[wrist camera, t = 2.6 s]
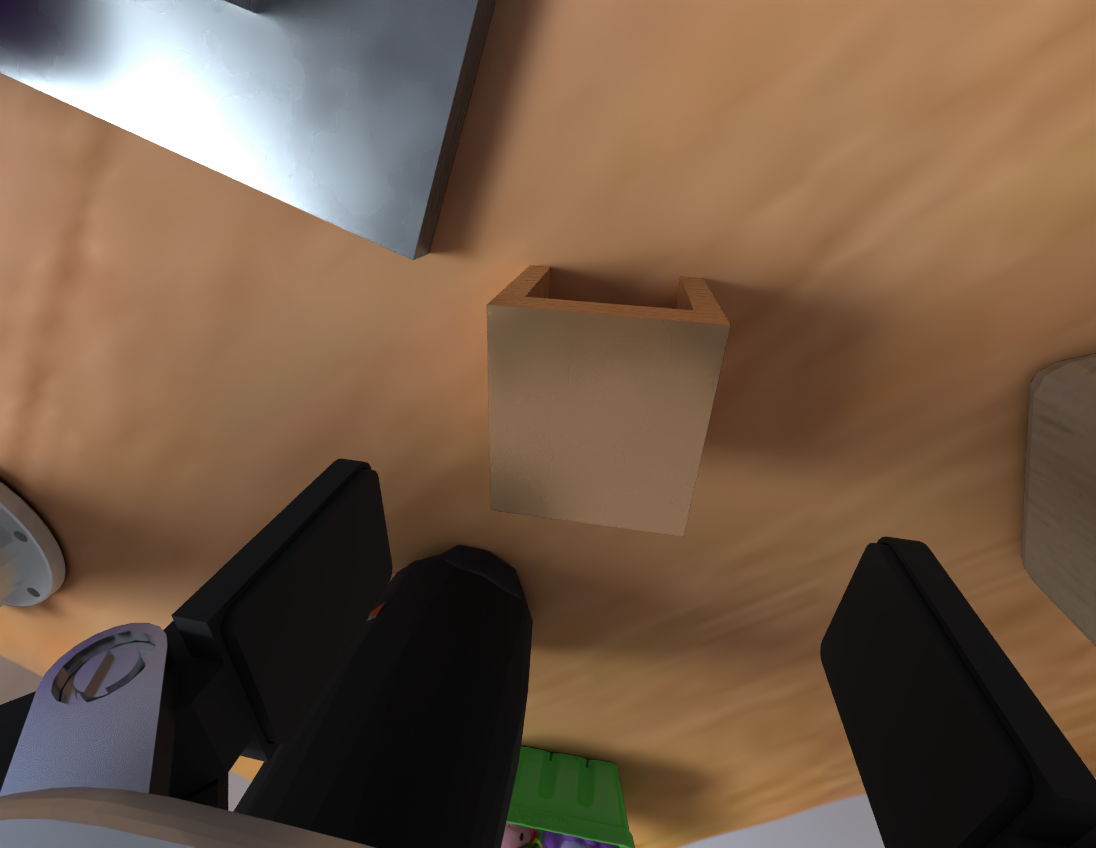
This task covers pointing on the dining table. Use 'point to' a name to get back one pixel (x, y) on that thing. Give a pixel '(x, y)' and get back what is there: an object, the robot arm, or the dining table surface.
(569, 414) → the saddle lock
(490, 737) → the portable speaker
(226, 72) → the plate
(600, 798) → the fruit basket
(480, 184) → the dining table surface
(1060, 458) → the wooden block
